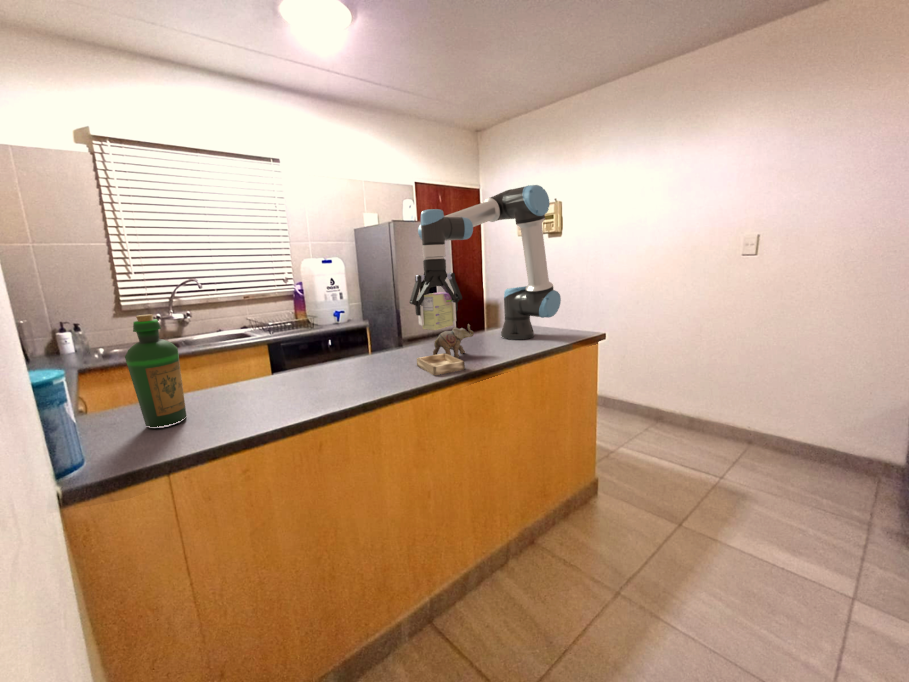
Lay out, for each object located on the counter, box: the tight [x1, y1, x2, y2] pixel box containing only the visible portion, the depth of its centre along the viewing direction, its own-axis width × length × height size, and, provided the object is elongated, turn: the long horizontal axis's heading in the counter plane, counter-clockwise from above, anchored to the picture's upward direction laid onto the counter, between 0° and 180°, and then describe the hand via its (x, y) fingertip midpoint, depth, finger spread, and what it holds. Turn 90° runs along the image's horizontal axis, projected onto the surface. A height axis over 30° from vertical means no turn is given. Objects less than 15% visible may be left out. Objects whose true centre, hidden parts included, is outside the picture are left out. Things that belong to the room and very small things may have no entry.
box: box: [421, 291, 454, 331], centre depth 136 cm, size 10×6×12 cm, turn 145°
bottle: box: [124, 313, 187, 427], centre depth 99 cm, size 11×11×28 cm
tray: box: [416, 352, 466, 377], centre depth 140 cm, size 12×15×3 cm
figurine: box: [432, 323, 474, 359], centre depth 154 cm, size 10×14×15 cm, turn 88°
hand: (437, 322), depth 137 cm, fingers closed on box, 11 cm apart
